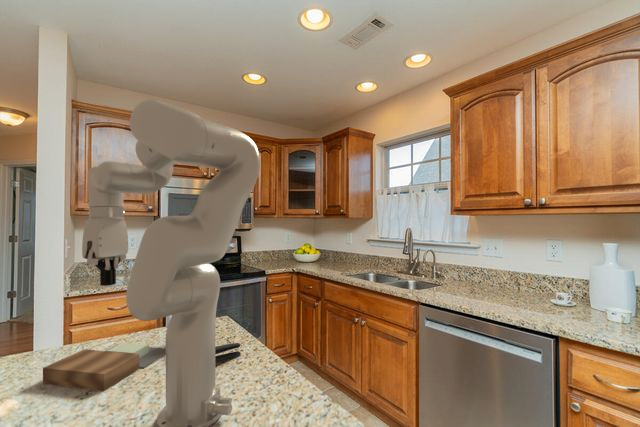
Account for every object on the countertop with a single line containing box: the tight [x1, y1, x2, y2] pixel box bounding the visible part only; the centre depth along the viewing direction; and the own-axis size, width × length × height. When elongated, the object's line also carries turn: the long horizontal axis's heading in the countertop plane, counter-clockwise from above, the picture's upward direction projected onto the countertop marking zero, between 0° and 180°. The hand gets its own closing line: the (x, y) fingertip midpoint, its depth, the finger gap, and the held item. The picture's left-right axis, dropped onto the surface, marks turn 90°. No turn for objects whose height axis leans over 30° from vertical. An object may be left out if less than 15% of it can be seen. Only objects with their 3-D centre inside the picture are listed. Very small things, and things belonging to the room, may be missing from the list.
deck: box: [42, 349, 140, 392], centre depth 81 cm, size 18×11×4 cm, turn 79°
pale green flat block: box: [106, 342, 150, 358], centre depth 93 cm, size 9×6×2 cm, turn 79°
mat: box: [105, 344, 166, 369], centre depth 93 cm, size 20×12×1 cm, turn 79°
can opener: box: [215, 342, 242, 364], centre depth 87 cm, size 18×7×6 cm, turn 138°
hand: (108, 284), depth 81 cm, fingers closed
